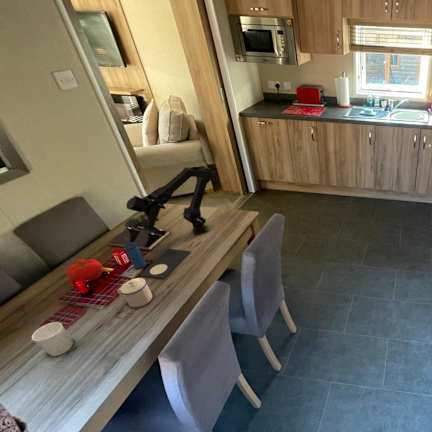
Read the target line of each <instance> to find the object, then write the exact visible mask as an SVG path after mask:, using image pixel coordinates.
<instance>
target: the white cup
mask: <svg viewBox="0 0 432 432" xmlns="http://www.w3.org/2000/svg"><path fill="white" fill-rule="evenodd" d="M31 340H32V341H33V342H34V343H35V344H36V345H37V346H38V347H40V349H42V350H43V351H44V352H46V353H47V354H48V355H49V356H52V357H56V356H57V357H58V356H60V355H63V354H65V353H66V352H68V351H69V350H70V349H71V348H72V347H73V345H74V341H73V340H72V339H71V336H70V334H69V333H68V332H67V330H66V328H65V327H64V326H63V324H62V323H61V322H58V321H53V322H49V323H46V324H44V325H42V326H40V327H39V328H37V329H36V330H34V332H33V333H32V335H31Z"/></svg>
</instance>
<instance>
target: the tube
mask: <svg viewBox="0 0 432 432" xmlns="http://www.w3.org/2000/svg"><path fill="white" fill-rule="evenodd" d="M123 248H124V250H125V252H126V254H127V255H128V257H129V259H130V261H131V263H132V265H133V268H134V269H135V270H141V269H144V268H145V267H147V265H148V262H147V261H146V260H145V257H144V255H143V253H142V251H141V249H139V247H138V244H137V243H136V242H130V243H128V244H126V245H125V246H124V247H123Z"/></svg>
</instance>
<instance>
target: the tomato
mask: <svg viewBox="0 0 432 432" xmlns="http://www.w3.org/2000/svg"><path fill="white" fill-rule="evenodd" d="M103 271H104V267H103V264H102V263H100V262H99V261H98V260H97V259H93V258H89V259H77V260H75V262H74V263H72V264H71V265H69V268H67V274H66V275H67V277H68V279H69V280H71V281H73V282H75V281H76V280H78V279H81V278H82V279H85V280H88V281H90V282H91V280H92V281H95V280H97V279H99V278H100V277H101V276H102V274H103Z"/></svg>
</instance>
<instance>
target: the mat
mask: <svg viewBox="0 0 432 432" xmlns="http://www.w3.org/2000/svg"><path fill="white" fill-rule="evenodd" d="M190 253H191V251H190V250H183V249H175V248H167V249H166V250H165V251H164V252H163V253H162V254H161V255H159V256H158V257H157V258H156V259H154V261H152V263H151V264H150V265H149V266H147V267H146V268H145V270H143V271H142V272H141V273H140V274H139V277H141V278H142V277H143V278H150V279H151V278H152V279H157V280H158V279H159V280H164V279H166V278H167V277H168V276H169V275H170V274H171V272H173V271H174V269H176V268H177V267H178V265H180V264H181V262H183V260H184V259H185V258H187V256H188V255H189V254H190Z"/></svg>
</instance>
